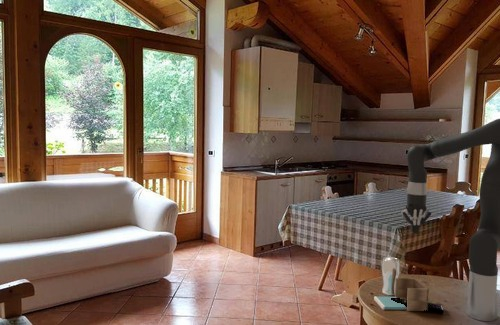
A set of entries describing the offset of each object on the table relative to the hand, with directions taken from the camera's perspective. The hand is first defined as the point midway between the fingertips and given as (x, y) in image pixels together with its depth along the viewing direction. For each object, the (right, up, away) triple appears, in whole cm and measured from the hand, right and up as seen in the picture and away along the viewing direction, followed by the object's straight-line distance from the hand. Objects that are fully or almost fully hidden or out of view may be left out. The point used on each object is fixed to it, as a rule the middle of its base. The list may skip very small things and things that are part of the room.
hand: (414, 233), depth 175 cm
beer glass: (-9, -27, +4) cm, 29 cm away
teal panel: (-9, -27, -8) cm, 30 cm away
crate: (-5, -28, -8) cm, 29 cm away
